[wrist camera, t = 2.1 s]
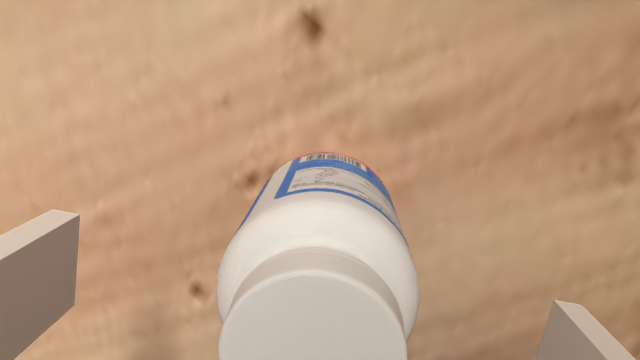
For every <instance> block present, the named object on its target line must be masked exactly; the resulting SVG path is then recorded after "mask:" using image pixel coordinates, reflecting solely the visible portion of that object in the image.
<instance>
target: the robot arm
mask: <svg viewBox="0 0 640 360" xmlns="http://www.w3.org/2000/svg"><path fill="white" fill-rule="evenodd" d="M79 222H80V214H76V213H71V212H65V211H59V210H54V209H52V210H50V211H48V212H46V213H44V214H42V215H40V216H38V217H36V218H34V219H32V220H30V221H28V222H26V223H24V224H22V225H20V226H18V227H16V228H14V229H12V230H10V231H8V232H6V233H4V234H2V235H0V360H14V359H15V358H16V357H17V356H18V355H19V354H20V353H22V352H23V351H24V350H25V349H26V348H27V347H28V346H29V345H30V344H32V343H33V342H34V341H35V340H36V339H37V338H38V337H39V336H40V335H42V334H43V333H44V332H45V331H46V330H47V329H48V328H49V327H50V326H52V325H53V324H54V323H55V322H56V321H57V320H58V319H59V318H60V317H61V316H63V315H64V314H65V313H66V312H67V311H68V310H69V309H70V308H71V307H73V306H74V302H75V286H76V270H77V254H78V238H79ZM535 360H636V359H635V358H634V357H633V356H632V355H631V354H630V353H629V352H628V351H627V350H626V349H625V348H624V347H623V346H622V345H621V344H620V343H619V342H618V341H617V340H616V339H615V338H614V337H613V336H612V335H611V334H610V333H609V332H608V331H607V330H606V329H605V328H604V327H603V326H602V325H601V324H600V323H599V322H598V321H597V320H596V319H595V318H594V317H593V316H592V315H591V314H590V313H589V312H588V311H587V310H586V309H585V308H584V307H583V306H582V305H580V304H574V303H569V302H563V301H558V300H554V301H553V305H552V308H551V311H550V314H549V318H548V321H547V324H546V327H545V330H544V334H543V337H542V340H541V343H540V346H539V350H538V353H537V356H536V359H535Z"/></svg>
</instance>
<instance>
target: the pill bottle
mask: <svg viewBox="0 0 640 360" xmlns="http://www.w3.org/2000/svg"><path fill="white" fill-rule="evenodd" d="M216 297H217V307H218V312H219V316H220V320H221V323H222V325H223V326H222V330H221V333H220V337H219V346H218V354H219V360H407V344H406V341H407V339H408V338H409V336H410V334H411V331H412V329H413V326H414V323H415V321H416V317H417V312H418V305H419V285H418V277H417V272H416V268H415V265H414V262H413V259H412V255H411V253H410V250H409V247H408V244H407V242H406V239H405V236H404V233H403V230H402V228H401V225H400V222H399V220H398V217H397V215H396V212H395V209H394V206H393V203H392V200H391V198H390V195H389V193H388V191H387V189H386V188H385V186H384V184H383V183H382V181H381V180H380V179H379V177H378V176H377V175H376V174H375V173H374V172H373V171H372V170H371V169H370V168H369V167H367V166H366V165H365V164H363V163H361V162H360V161H358V160H356V159H354V158H351V157H349V156H346V155H342V154H337V153H330V152H320V153H312V154H307V155H303V156H300V157H298V158H295V159H293V160H291V161H289V162H288V163H286V164H284V165H283V166H282V167H280V168H279V169H278V170H277V171H276V172H275V173H274V174H273V175H272V176H271V177H270V179H269V180H268V181H267V182H266V184H265V185H264V187H263V188H262V190H261V192H260V193H259V195H258V197H257V199H256V200H255V202H254V204H253V205H252V207H251V209H250V210H249V212H248V214H247V215H246V217H245V219H244V220H243V222H242V224H241V225H240V227H239V228H238V230H237V231H236V233H235V235H234V237H233V238H232V240H231V242H230V244H229V246H228V247H227V249H226V251H225V254H224V256H223V258H222V261H221V264H220V268H219V272H218V277H217V287H216Z"/></svg>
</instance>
